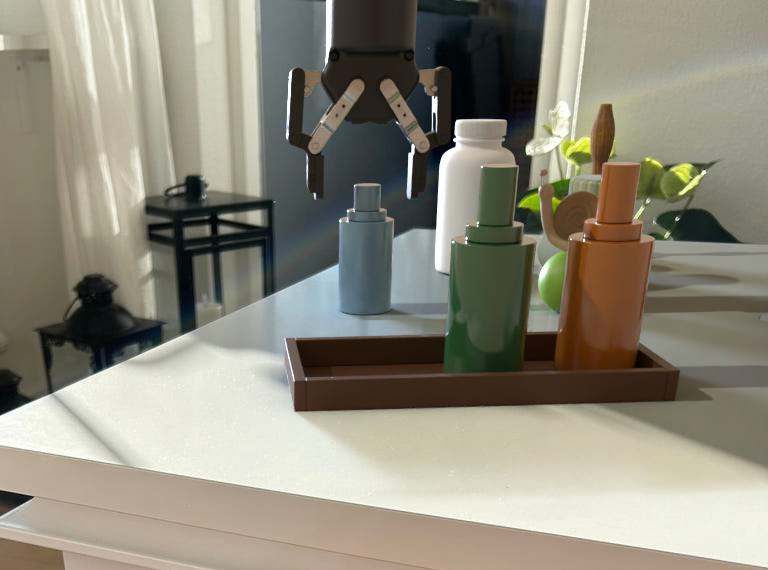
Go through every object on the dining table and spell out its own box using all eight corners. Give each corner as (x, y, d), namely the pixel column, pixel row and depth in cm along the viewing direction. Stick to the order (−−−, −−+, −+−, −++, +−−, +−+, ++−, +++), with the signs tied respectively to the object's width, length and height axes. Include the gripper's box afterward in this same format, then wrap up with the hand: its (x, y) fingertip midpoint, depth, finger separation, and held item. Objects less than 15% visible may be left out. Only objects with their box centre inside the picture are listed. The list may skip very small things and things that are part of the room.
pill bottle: (491, 263, 117) (503, 116, 110) (517, 275, 111) (531, 120, 103) (425, 266, 116) (432, 118, 109) (446, 279, 109) (456, 122, 102)
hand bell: (583, 264, 116) (603, 106, 108) (539, 253, 123) (554, 103, 115) (640, 258, 119) (664, 103, 111) (594, 247, 126) (613, 101, 118)
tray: (615, 366, 79) (621, 329, 77) (673, 411, 69) (680, 370, 67) (284, 375, 78) (284, 337, 76) (294, 422, 68) (294, 380, 66)
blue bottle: (386, 302, 100) (391, 181, 94) (394, 314, 95) (399, 187, 90) (335, 304, 99) (337, 182, 94) (340, 315, 95) (342, 188, 90)
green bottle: (510, 369, 75) (531, 161, 68) (530, 390, 71) (555, 169, 64) (435, 371, 75) (448, 162, 68) (450, 393, 70) (466, 170, 63)
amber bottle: (617, 366, 76) (648, 158, 69) (644, 387, 71) (681, 166, 64) (543, 368, 76) (566, 160, 69) (565, 390, 71) (593, 168, 64)
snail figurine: (535, 302, 99) (550, 166, 93) (601, 309, 96) (621, 169, 90) (516, 313, 95) (530, 172, 89) (585, 320, 92) (604, 175, 86)
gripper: (289, -16, 81) (289, 205, 89) (467, -17, 81) (451, 203, 89) (283, -11, 87) (284, 195, 95) (448, -12, 88) (436, 193, 96)
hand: (365, 198), depth 92 cm, fingers open, 8 cm apart
